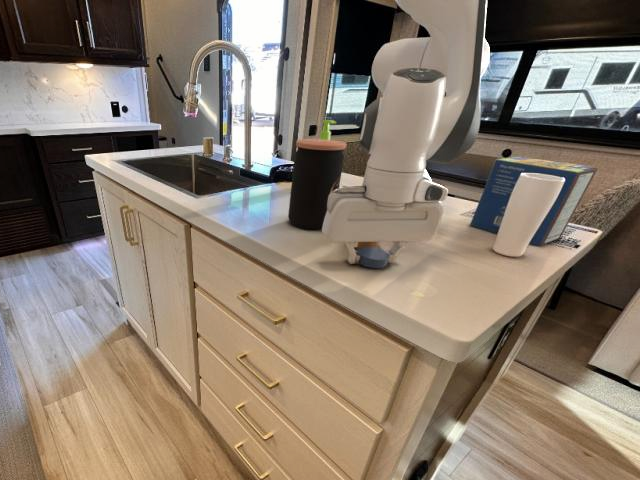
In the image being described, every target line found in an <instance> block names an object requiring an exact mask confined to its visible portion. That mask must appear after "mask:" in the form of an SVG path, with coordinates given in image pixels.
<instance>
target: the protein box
mask: <svg viewBox="0 0 640 480" xmlns="http://www.w3.org/2000/svg"><path fill="white" fill-rule="evenodd" d="M598 170H599V167H597V166H591V165H582V164H575V163H567V162H560V161H552V160H545V159H539V158H538V159H537V158H531V157H525V156H511V157H501V158H496V159H495V160H494V163H493V166H492V168H491V171H490V174H489V176H488V178H487V181H486V184H485V186H484V188H483V191H482V194H481V196H480V198H479V201H478V204H477V206H476V209H475V210H474V213H473V216H472V218H471V221H470V223H469V226H471V227H473V228H478V229H481V230H483V231H487V232H491V233H493V234H496V235H497V234H498V231H499V228H500V225H501V222H502V219H503V216H504V213H505V210H506V207H507V204H508V201H509V199H510V196H511V193H512V191H513V189H514V186H515V184H516V182H517V180H518V178H519V176H520V174H522V173H538V174H546V175H553V176H558V177H561V178H564V179H565V182H564V184H563V187H562V189H561V191H560V193H559V195H558V197H557V199H556V201H555V202H554V204H553V206H552V207H551V209H550V211H549V212H548V214H547V215H546V217H545V219H544V220H543V222H542V223H541V225H540V226H539V228H538V230H537V231H536V233H535V234H534V236H533V238H532V239H531V241H530V242H529V244H531V245H533V246H537V247H540V246H544V245H546V244H549V243H551V242H554V241H556V240H559V239H561V238H562V236H563V235H564V233H565V231H566V228H567V227H568V225H569V223H570V221H571V219H572V217H573V216H574V214H575V212H576V210H577V208H578V206H579V205H580V203H581V201H582V199H583V197H584V196H585V194H586V192H587V190H588V188H589V186H590V184H591V183H592V181H593V179H594V177H595V175H596V173H597V171H598Z"/></svg>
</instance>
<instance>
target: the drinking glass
mask: <svg viewBox="0 0 640 480" xmlns="http://www.w3.org/2000/svg"><path fill="white" fill-rule="evenodd" d="M564 182H565V179H564V178H561V177H558V176H553V175H546V174H538V173H522V174H520V176H519V178H518V180H517V182H516V184H515V186H514V189H513V191H512V193H511V196H510V199H509V201H508V204H507V207H506V210H505V213H504V216H503V219H502V222H501V225H500V228H499V231H498V234H497V233H496V236H495V239H494V242H493V244H492V246H491V247H492V251H494V252H495V253H496V254H499V255H501V256H506V257H511V258H513V257H514V258H517V257H518V258H519V257H521V256H523V255H524V253H525V252H526V249H527V248H528V245H529V244H530V243H529V242H530V241H531V239H532V238H533V236H534V234H535V233H536V231H537V230H538V228H539V226H540V225H541V223H542V222H543V220H544V219H545V217H546V215H547V214H548V212H549V211H550V209H551V207H552V206H553V204H554V202H555V201H556V199H557V197H558V195H559V193H560V191H561V189H562V187H563V184H564Z"/></svg>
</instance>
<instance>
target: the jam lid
mask: <svg viewBox="0 0 640 480" xmlns="http://www.w3.org/2000/svg"><path fill="white" fill-rule="evenodd" d="M386 251H387V250H384V249H382V248H379V247H377V248H375V247H360V248H358V249H357V250H356V252H357V253H358V254H359V255H361V257H360V259H359V263H358V264H359V265H361V266H363V267H365V268H371V269H383V268H385V267H386V266H387V265H388V263H387V262H388V259H389V254H388V253H387V252H386Z"/></svg>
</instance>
